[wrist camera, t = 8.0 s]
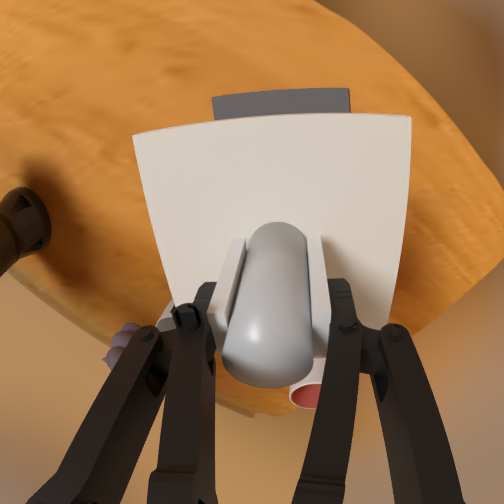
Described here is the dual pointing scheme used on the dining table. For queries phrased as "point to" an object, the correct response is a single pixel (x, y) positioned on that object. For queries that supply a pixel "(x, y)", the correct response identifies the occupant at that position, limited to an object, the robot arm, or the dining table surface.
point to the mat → (281, 102)
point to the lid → (279, 222)
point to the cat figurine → (120, 343)
